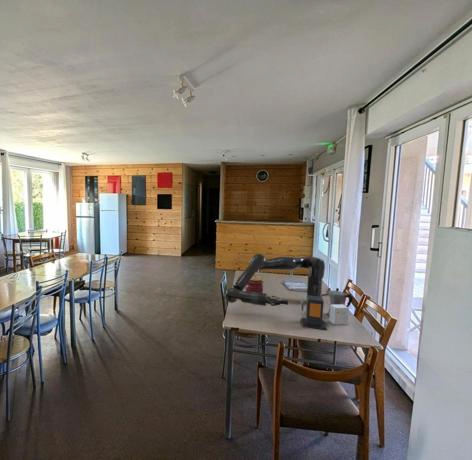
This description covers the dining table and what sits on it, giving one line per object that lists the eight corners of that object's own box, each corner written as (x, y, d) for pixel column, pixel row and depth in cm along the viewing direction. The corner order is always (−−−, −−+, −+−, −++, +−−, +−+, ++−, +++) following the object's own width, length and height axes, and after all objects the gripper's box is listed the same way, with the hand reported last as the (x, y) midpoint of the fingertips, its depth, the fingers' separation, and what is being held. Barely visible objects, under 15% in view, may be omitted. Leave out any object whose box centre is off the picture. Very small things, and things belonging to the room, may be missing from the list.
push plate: (300, 307, 176) (301, 298, 176) (302, 307, 176) (303, 298, 175) (301, 310, 170) (301, 302, 170) (303, 310, 170) (303, 302, 169)
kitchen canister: (256, 300, 212) (257, 276, 211) (241, 296, 222) (242, 273, 220) (266, 296, 221) (267, 274, 219) (251, 292, 230) (252, 270, 229)
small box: (341, 321, 177) (343, 304, 176) (347, 324, 171) (349, 307, 170) (329, 321, 176) (330, 304, 175) (334, 324, 171) (335, 307, 170)
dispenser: (301, 318, 179) (303, 293, 178) (323, 322, 175) (325, 296, 173) (302, 326, 168) (304, 299, 166) (326, 330, 164) (327, 302, 162)
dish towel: (290, 290, 236) (290, 287, 236) (282, 282, 260) (282, 279, 259) (312, 291, 235) (312, 288, 234) (302, 283, 258) (302, 280, 258)
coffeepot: (321, 314, 186) (323, 287, 184) (327, 311, 193) (328, 284, 191) (348, 322, 175) (351, 293, 173) (353, 318, 181) (355, 289, 180)
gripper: (257, 296, 175) (288, 300, 169) (259, 290, 188) (288, 293, 181) (256, 308, 176) (287, 312, 170) (258, 301, 188) (287, 305, 182)
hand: (287, 302), depth 176 cm, fingers closed
